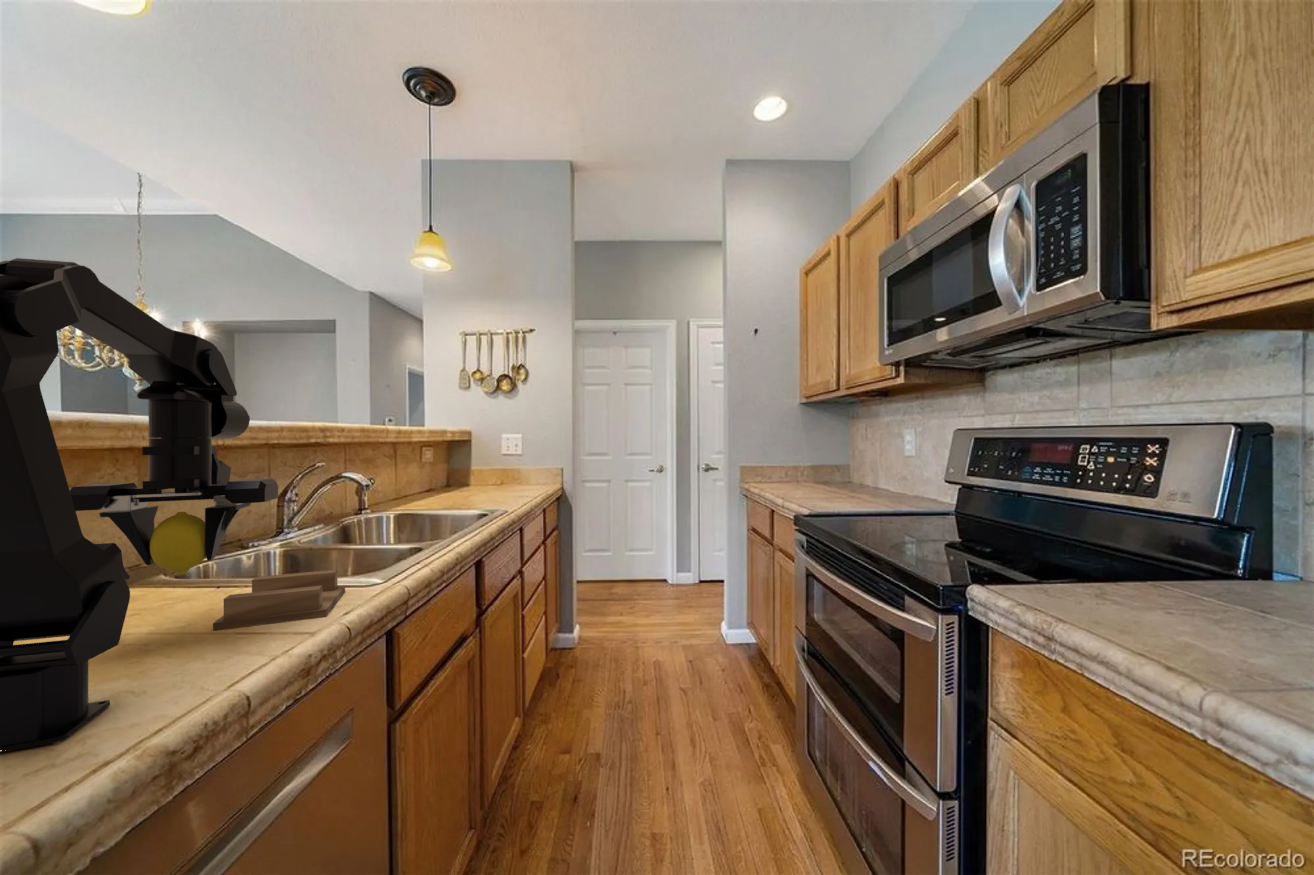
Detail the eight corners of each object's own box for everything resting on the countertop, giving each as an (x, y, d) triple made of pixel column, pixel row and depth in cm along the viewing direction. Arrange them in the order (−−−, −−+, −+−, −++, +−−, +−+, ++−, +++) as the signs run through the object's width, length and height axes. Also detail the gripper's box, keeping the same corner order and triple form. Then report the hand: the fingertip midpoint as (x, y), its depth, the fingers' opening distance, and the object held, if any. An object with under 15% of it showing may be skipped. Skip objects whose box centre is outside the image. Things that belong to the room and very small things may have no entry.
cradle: (326, 616, 71) (326, 589, 71) (212, 630, 66) (212, 601, 66) (345, 591, 83) (344, 568, 83) (250, 601, 78) (250, 576, 78)
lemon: (172, 582, 58) (172, 515, 58) (137, 580, 59) (137, 514, 59) (222, 570, 63) (222, 508, 64) (189, 568, 65) (189, 508, 65)
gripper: (290, 438, 72) (291, 543, 72) (122, 439, 65) (122, 555, 65) (263, 437, 62) (263, 559, 62) (60, 438, 55) (60, 576, 55)
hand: (181, 561), depth 61 cm, fingers closed on lemon, 5 cm apart
